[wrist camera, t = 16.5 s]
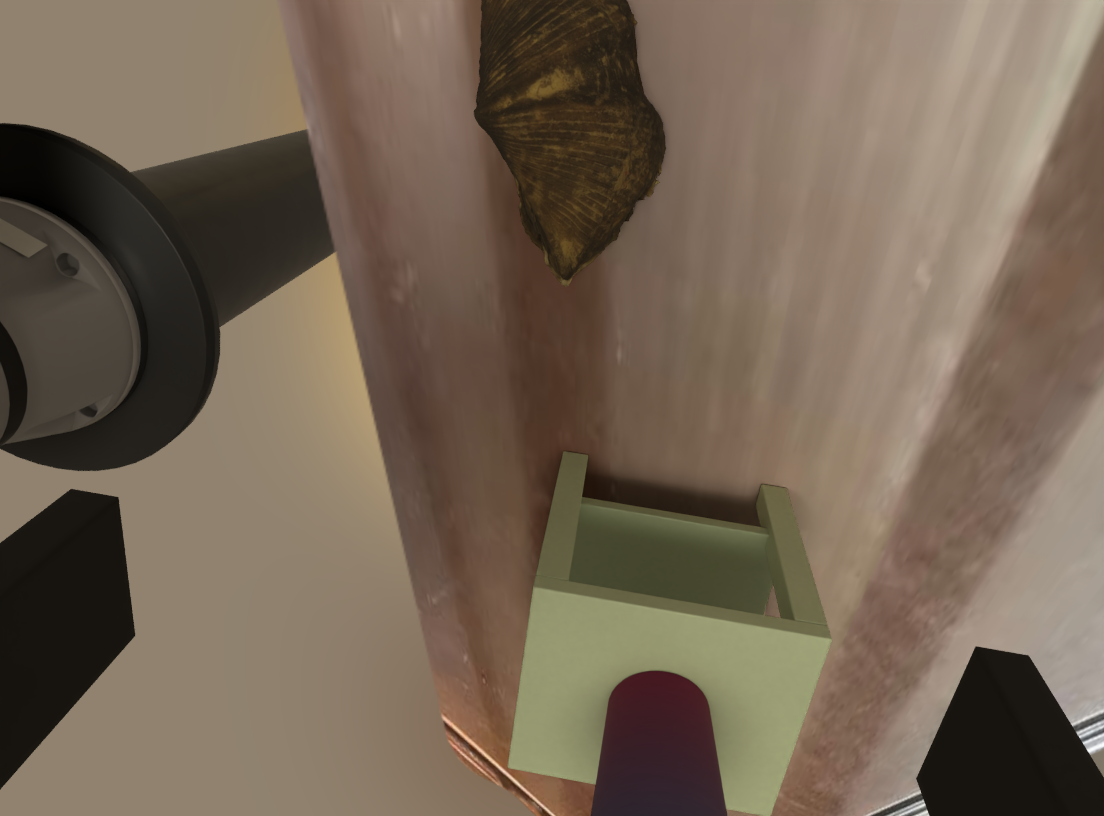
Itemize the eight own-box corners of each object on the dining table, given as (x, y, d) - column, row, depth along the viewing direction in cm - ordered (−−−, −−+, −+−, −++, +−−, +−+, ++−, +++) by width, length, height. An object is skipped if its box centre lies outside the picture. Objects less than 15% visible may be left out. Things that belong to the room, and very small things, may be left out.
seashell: (433, -36, 40) (427, -66, 33) (609, -81, 40) (639, -120, 33) (516, 283, 45) (526, 312, 39) (669, 242, 46) (705, 264, 39)
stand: (540, 602, 55) (507, 768, 43) (563, 450, 50) (533, 587, 38) (743, 638, 55) (770, 818, 42) (787, 487, 50) (833, 640, 37)
